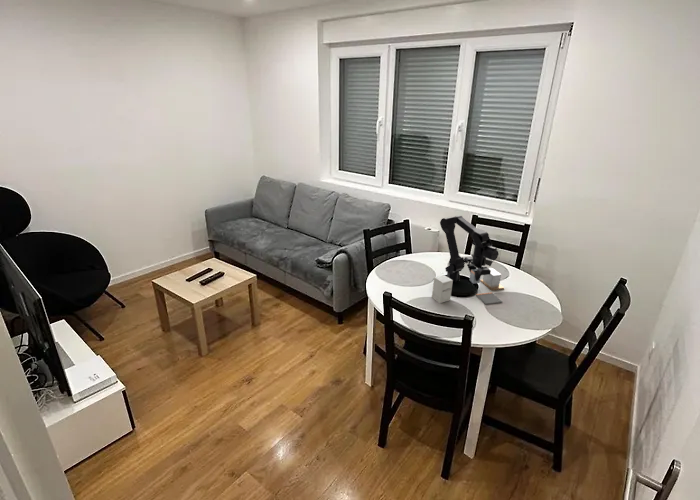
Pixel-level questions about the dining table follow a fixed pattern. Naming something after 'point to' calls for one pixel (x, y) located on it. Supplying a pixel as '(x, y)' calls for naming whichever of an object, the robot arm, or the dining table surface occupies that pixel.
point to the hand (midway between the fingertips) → (474, 279)
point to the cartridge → (473, 276)
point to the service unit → (492, 280)
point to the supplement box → (442, 288)
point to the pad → (488, 298)
